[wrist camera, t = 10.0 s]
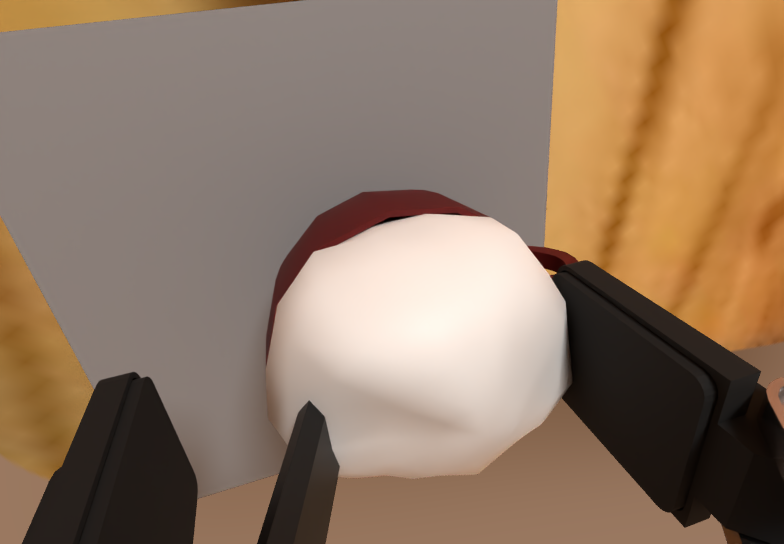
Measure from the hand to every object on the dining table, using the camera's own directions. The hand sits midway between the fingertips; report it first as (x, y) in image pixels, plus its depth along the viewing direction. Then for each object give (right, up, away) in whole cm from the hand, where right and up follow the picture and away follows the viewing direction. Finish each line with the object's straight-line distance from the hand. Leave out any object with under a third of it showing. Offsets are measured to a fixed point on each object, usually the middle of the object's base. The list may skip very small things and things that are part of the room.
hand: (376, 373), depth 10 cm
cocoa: (0, +2, +4) cm, 4 cm away
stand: (-3, +4, +8) cm, 10 cm away
